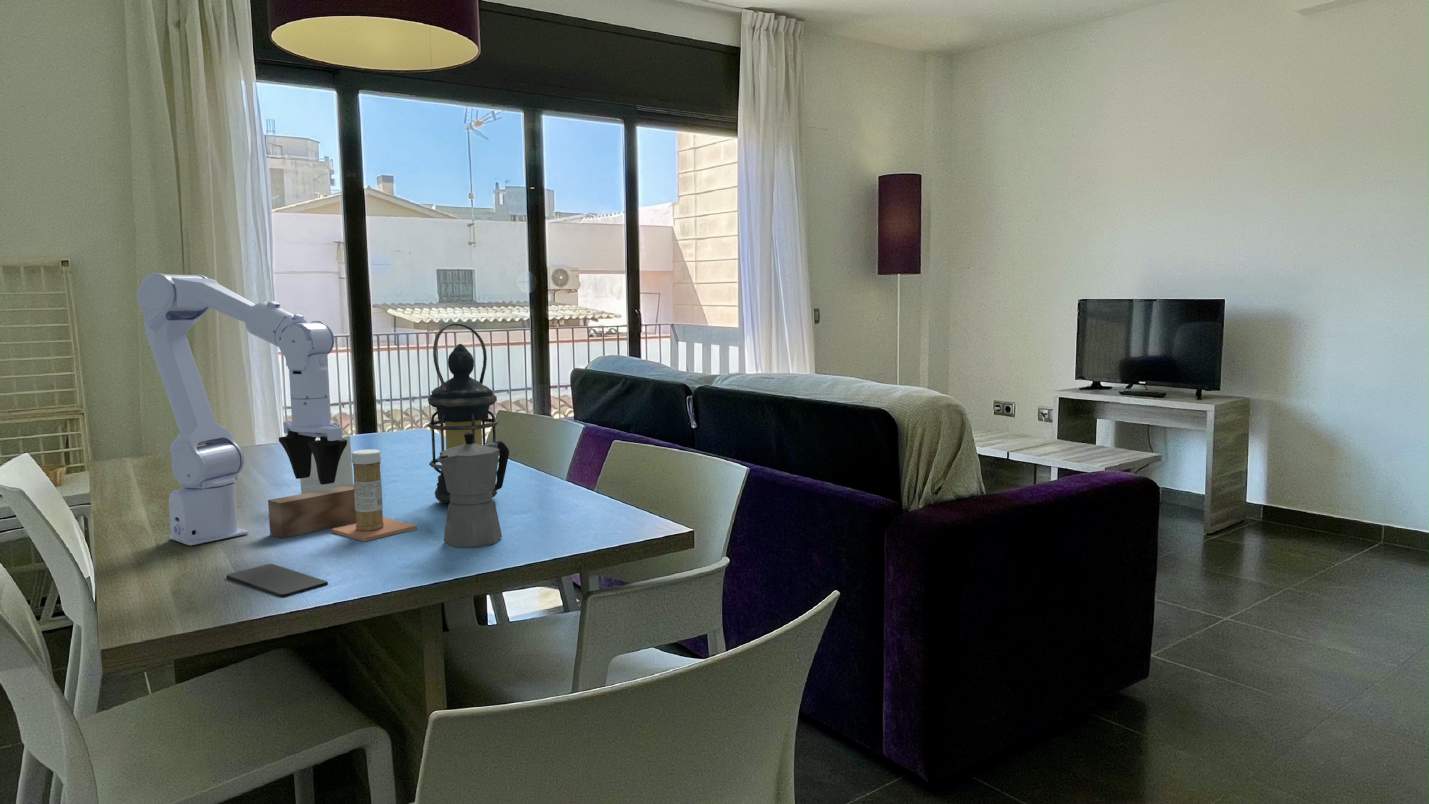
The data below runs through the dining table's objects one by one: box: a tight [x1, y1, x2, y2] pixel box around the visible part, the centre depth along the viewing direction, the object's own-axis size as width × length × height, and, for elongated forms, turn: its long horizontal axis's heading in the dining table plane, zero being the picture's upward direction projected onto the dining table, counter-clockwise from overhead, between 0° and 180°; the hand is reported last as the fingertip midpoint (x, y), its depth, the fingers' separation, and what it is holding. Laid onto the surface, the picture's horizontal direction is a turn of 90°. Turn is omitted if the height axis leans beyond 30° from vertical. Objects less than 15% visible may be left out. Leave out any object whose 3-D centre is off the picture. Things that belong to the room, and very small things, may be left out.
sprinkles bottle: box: [351, 448, 384, 531], centre depth 151 cm, size 5×5×14 cm
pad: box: [330, 516, 418, 542], centre depth 153 cm, size 10×10×1 cm
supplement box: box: [299, 435, 354, 494], centre depth 176 cm, size 7×7×13 cm
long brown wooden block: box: [267, 483, 356, 539], centre depth 156 cm, size 18×4×6 cm, turn 143°
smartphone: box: [225, 563, 329, 598], centre depth 125 cm, size 7×1×15 cm
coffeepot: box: [436, 432, 510, 549], centre depth 146 cm, size 15×9×18 cm, turn 150°
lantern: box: [427, 322, 499, 504], centre depth 172 cm, size 14×13×35 cm
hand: (314, 480), depth 144 cm, fingers open, 7 cm apart
